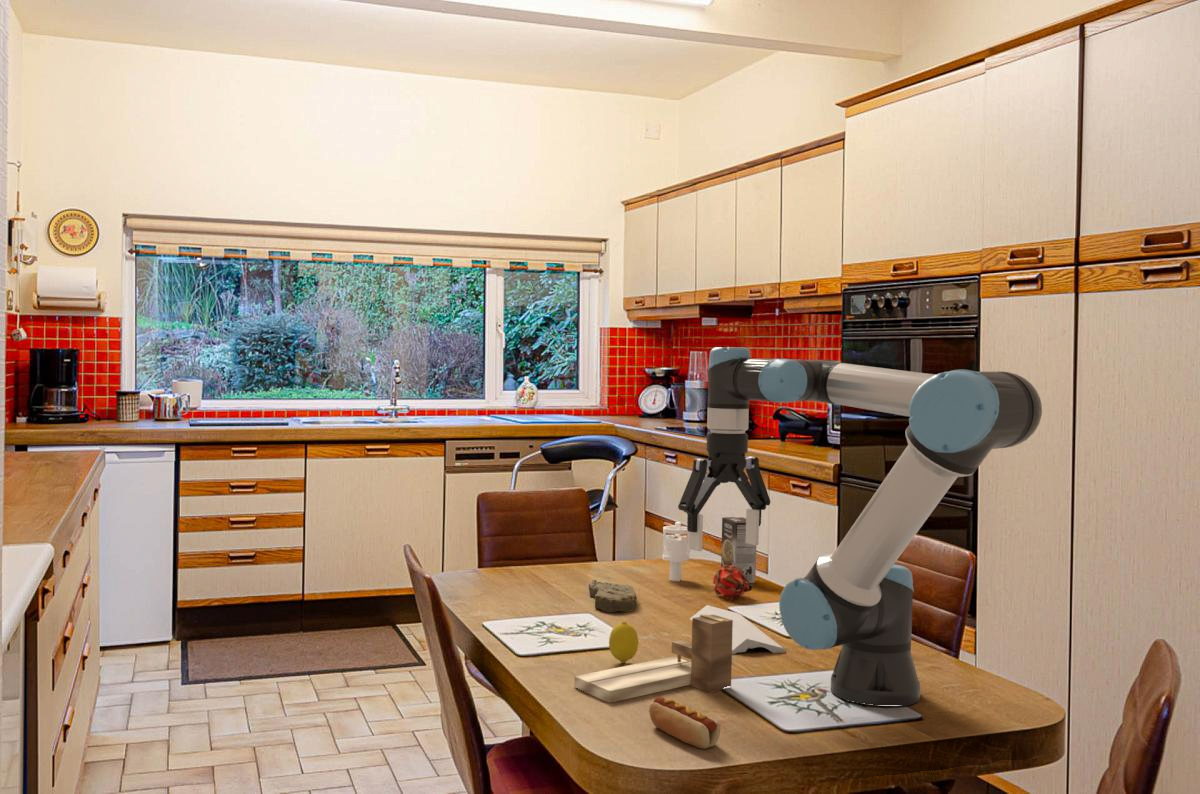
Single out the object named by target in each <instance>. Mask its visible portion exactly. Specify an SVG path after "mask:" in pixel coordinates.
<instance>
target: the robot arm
mask: <svg viewBox="0 0 1200 794" xmlns="http://www.w3.org/2000/svg"><path fill="white" fill-rule="evenodd" d="M708 358H709V359H708V367H707V375H708V376H707V377H708V379H707V380H708V381H707V382H708V383H707V384H708V387H707V414H706V415H707V419H706V421H707V422H706V428H707V429H708V430H710V431H709V432H707V433H706V452H707V453H708V456H707V457H708V458H707V459H706V458H705V459H704V458H694V459H693V465H692V470H691V474H690V476H689V479H688V481H687V483H686V486H685V488H684V492H683V494H682V496H681V498H680V501H679V502H678V503H679V504H678V506H677V508H678V510H680V511H682V512H684V513H685V514H686V515H687V520H686V521H687V524H686V525H687V526H686V527H687V530H688V531H689V532H690V540H689V549H690V550H693V551H696V552H703V535H704V534H703V533H704V532H703V529H704V528H703V527H704V514H702V513H701V514H700V512H701V511H702V509H703V507H704V506H705V505H706V503H707V502H708V500H709V499H710V497H711V496H712V494H713V493H714V491H715V489H716V488H717V487H718V486H719V485H721V484H727V483H734V484H735V485H736V487H737V488H738V490H739V491H740V493H741V495H742V496H743V498H744V499H745V501H746V503H747V504H748V506H749V508H746V511H745V518H746V541H745V543H748V544H752V545H756V546H758V545H759V533H760V530H759V529H760V527H761V524H762V510H763V511H765V510H766V509H767V506H770V505H771V499H770V497H769V496H770V495H769V494H768V490H767V488H766V487H767V486H766V485H765V481H764V479H763V475H762V474H761V470H760V463H759V462H760V461H759V460H760V459H759V458H758V456H750V455H745V454H747V452H748V451H749V449H748V448H749V435H748V433H746V431H748V430H749V419H750V418H749V417H750V416H749V413H750V412H749V411H750V410H749V409H750V401H758V402H771V403H772V402H773V403H775V404H779V403H782V404H786V403H794V402H817V403H824V404H825V403H826V404H831V405H840V406H846V407H849V408H850V407H852V408H857V409H863V410H867V411H875V412H881V413H887V414H891V415H892V414H894V415H898V416H903V417H909V418H908V423H909V425H908V426H907V427H906V429H905V438H906V442H907V446H906V448H905V449H904V450H903V451H902V453H901V455H900V456H898V459H897V460H896V462H895V463H894V465H893V466H892V468H891V469H890V471H889V472H888V474H887V475H886V476H885V477H884V479H883V481H882V482H881V483H880V485H879V487H878V488H877V490H876V491H875V492H874V494H873V495H872V497H871V498H870V500H869V501H868V503H867V504H866V505H865V507H864V508H863V510H862V511H861V512H860V514H859V516H858V517H857V518H856V520H855V522H854V523H853V524H852V525H851V527H850V529H849V530H848V531H847V533H846V534H845V536H844V538H842V540H841V541H840V542H839V545H838V546H837V548H836V549H835V550H834V552H826V553H823V554H821V555H820V556H819V557H818V558H817V560H816V561H815V563H814V564H813V565H812V567H811V568H810V570H809V571H808V572H807V574H806V576H804V577H803V578H802V577H800V578H799V577H797V578H795V579H794V580H792V581H789V582H788V583H787V584H786V585H785V586H784V588H783V589H782V591H781V593H780V597H779V603H778V606H779V607H778V609H779V612H780V616H781V617H780V620H781V622H782V625H783V627H784V629H785V631H786V633H787V635H788V636H789V637H790V638H791V639H792V641H793V642H794V643H796V644H797V646H800V647H802V649H803V648H804V649H806V650H811V651H817V650H824V651H825V650H830V649H831V648H834V647H838V646H839V647H840V646H841V649H840V652H839V655H838V657H837V660H836V663H835V665H834V669H833V672H832V674H831V677H830V692H831V691H832V692H831V693H832V694H833V693H834V694H835V695H834V694H833V695H834V696H835V697H837V696H838V698H839V697H840V699H841V698H843V699H842V700H844V699H846V700H845V701H847V700H849V701H848V702H850V701H854V702H858V703H865V704H873V705H902V706H901V707H906V706H912V705H913V704H916V703H917V702H919V701H920V699H921V683H920V681H919V677H918V674H917V670H916V667H915V662H914V658H913V656H912V627H913V622H912V621H913V601H914V600H913V598H914V597H913V596H914V592H915V590H914V586H913V585H914V584H913V583H914V582H913V573H912V571H911V570H910V569H909V568H907V566H903V565H900V564H896V562H897V560H899V558H900V556H901V555H902V554H903V552H904V551H905V550H906V549H907V547H908V545H909V544H910V543H911V541H912V540H913V539H914V537H915V536H916V535H917V534H918V532H919V530H920V529H921V528H922V527H923V526H924V524H925V523H926V521H927V520H928V518H929V517H930V516H931V514H932V513H933V511H934V510H935V509H936V507H937V506H938V504H940V502H941V500H943V497H945V495H946V494H947V493H948V491H949V489H950V488H951V487H952V486H953V484H954V483H955V481H956V480H957V479H958V478H961V477H970V476H972V475H974V473H976V471H977V469H979V467H980V465H981V464H982V463H983V461H984V460H985V459H986V458H987V456H988V454H989V453H990V452H991V451H992V450H994V449H995V450H997V449H1005V448H1013V447H1015V446H1018V445H1020V444H1022V443H1023V442H1025V441H1027V440H1029V438H1030V437H1031V436H1032V435H1033V434H1034V433H1035V432H1036V430H1037V429H1038V427H1039V425H1040V423H1041V419H1042V414H1043V406H1042V401H1041V397H1040V394H1039V393H1038V391H1037V389H1036V388H1035V387H1034V385H1033V384H1032V383H1031V382H1030V381H1028V380H1027V379H1026V378H1025V377H1023V376H1021V375H1018V374H1017V373H1012V372H1009V371H976V370H971V369H970V370H969V369H953V370H949V371H944V372H940V373H937V374H936V373H935V374H934V373H926V372H925V373H924V372H917V371H909V370H901V369H900V370H899V369H895V368H893V369H892V368H886V367H885V368H884V367H878V366H877V367H876V366H869V365H861V364H853V363H846V362H840V361H835V360H832V359H790V358H780V357H779V358H776V357H775V358H752V357H751V350H750V348H748V347H738V346H737V347H734V346H733V347H732V346H731V347H730V346H725V347H721V346H718V347H717V346H715V347H713V348H712V349H711V350H710V351H709V357H708ZM744 470H745V471H746V472H745V471H744ZM746 473H747V474H746ZM854 702H853V703H854ZM858 703H857V704H858Z"/></svg>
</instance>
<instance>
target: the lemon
mask: <svg viewBox="0 0 1200 794" xmlns="http://www.w3.org/2000/svg"><path fill="white" fill-rule="evenodd" d="M609 634H610V635H609V637H608V639H609V641H608V646H609V651H610V654H611V655H612V656H613V657H614V658H615V659H616V660H618V661H619V662H620V663H621V664H625V663H627V662H628V661H629V660H631V659H633V658H634V657H635V655H636V654H637V652H638V648H639V636H638V633H637V630H636V629H635V628H634V626H632V625H631V624H629V623H628V622H626V621H624V620H623V621H621V622H620V623H618V624H616V625H615V626H614V627H613V628H612V630H611V631H610V633H609Z"/></svg>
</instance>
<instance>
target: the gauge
mask: <svg viewBox="0 0 1200 794" xmlns="http://www.w3.org/2000/svg"><path fill="white" fill-rule="evenodd" d="M691 623H692V624H691V642H690V643H689V642H686V641H684V640H681V639H680V640H675V641H674V640H673V641H671V653H672V654H675V655H677V658H678V662H681V659H682V657H683V658H685V659H688V660H690V662H691V685H690V686H692V687H693V688H697V689H700V690H703V691H705V692H707V693H714V692H715V693H716V692H719V691H723V690H722V689H723V688H724V687H727V686H731V687H732V668H733V665H732V662H733V660H732V659H733V654H732V628H733V620H730V619H727V618H723V617H720V616H716V615H706V614H703V615H700V617H696V618H692V622H691Z"/></svg>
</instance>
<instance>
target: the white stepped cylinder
mask: <svg viewBox="0 0 1200 794" xmlns="http://www.w3.org/2000/svg"><path fill="white" fill-rule="evenodd" d="M675 537H676V538H675ZM673 538H674V539H673ZM689 540H690V532H689V531H688V530H687V526H682V522H681V521H676V522H675V523H674V525H666V526H663V528H662V560H663V561H664V562H665V561H667V562H669V581H670V580H673V581H672V582H681V581H682V563H683V562H689V561H690V550H691V549H689ZM680 580H681V581H680Z"/></svg>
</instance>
